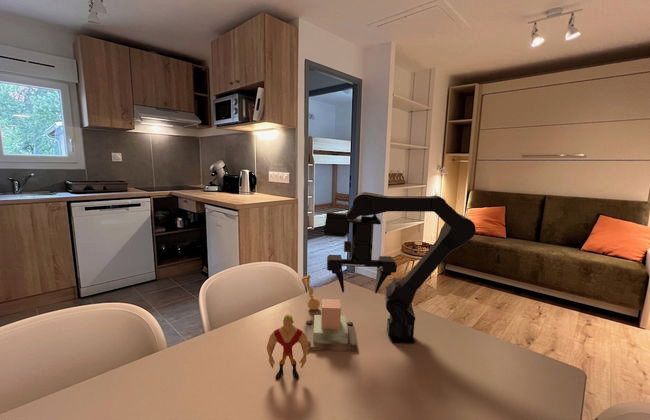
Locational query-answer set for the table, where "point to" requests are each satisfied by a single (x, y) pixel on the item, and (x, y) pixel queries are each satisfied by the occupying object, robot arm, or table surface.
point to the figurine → (312, 302)
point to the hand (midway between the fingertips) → (359, 292)
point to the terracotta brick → (331, 314)
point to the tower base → (332, 346)
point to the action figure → (287, 344)
